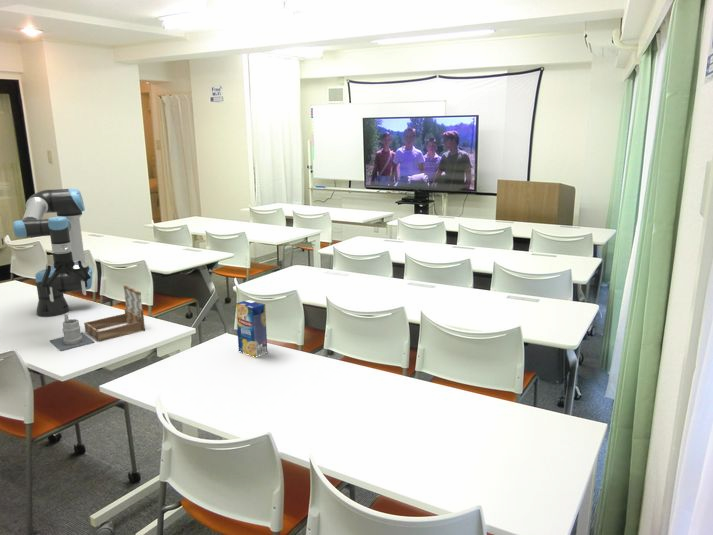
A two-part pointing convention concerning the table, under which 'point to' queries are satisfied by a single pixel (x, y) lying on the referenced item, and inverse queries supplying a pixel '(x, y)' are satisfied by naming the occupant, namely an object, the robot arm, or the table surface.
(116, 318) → the box
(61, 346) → the slate mat
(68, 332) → the mug
